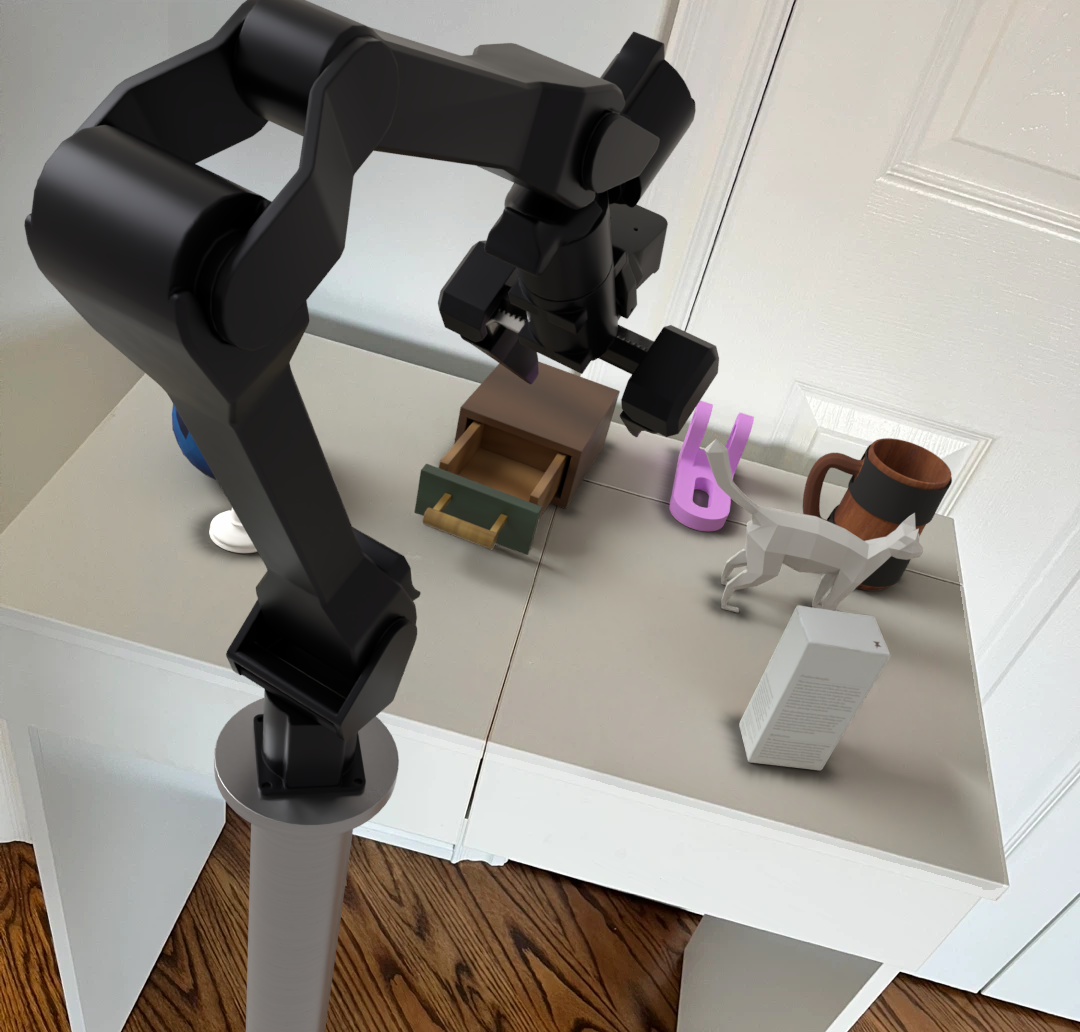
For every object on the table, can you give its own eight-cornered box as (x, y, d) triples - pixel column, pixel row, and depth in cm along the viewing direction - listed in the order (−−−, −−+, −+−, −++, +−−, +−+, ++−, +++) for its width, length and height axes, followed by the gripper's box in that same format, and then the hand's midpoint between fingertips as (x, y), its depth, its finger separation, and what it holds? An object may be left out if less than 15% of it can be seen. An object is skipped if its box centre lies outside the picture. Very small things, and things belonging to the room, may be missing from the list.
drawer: (510, 582, 82) (521, 539, 79) (393, 538, 83) (399, 493, 80) (569, 487, 94) (580, 446, 91) (466, 448, 95) (474, 407, 92)
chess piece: (211, 553, 78) (209, 439, 71) (207, 515, 81) (205, 402, 74) (276, 553, 80) (281, 442, 73) (270, 516, 83) (274, 406, 76)
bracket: (678, 455, 105) (700, 393, 100) (730, 470, 105) (754, 410, 100) (666, 520, 96) (689, 456, 91) (723, 537, 96) (749, 474, 91)
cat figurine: (875, 650, 88) (955, 516, 79) (655, 593, 87) (709, 450, 77) (869, 618, 92) (946, 486, 82) (657, 563, 90) (709, 422, 81)
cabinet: (565, 509, 93) (582, 451, 89) (449, 465, 94) (460, 406, 90) (604, 445, 103) (620, 390, 99) (498, 406, 104) (510, 350, 100)
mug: (782, 517, 101) (830, 411, 93) (897, 556, 100) (956, 453, 92) (774, 563, 94) (825, 454, 86) (897, 605, 94) (960, 500, 86)
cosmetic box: (808, 731, 79) (877, 615, 70) (821, 773, 76) (894, 656, 68) (735, 722, 78) (796, 602, 69) (745, 763, 75) (809, 643, 66)
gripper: (773, 216, 59) (751, 371, 74) (507, 103, 63) (537, 271, 78) (674, 366, 57) (673, 493, 72) (408, 239, 62) (459, 384, 77)
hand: (585, 404), depth 75 cm, fingers open, 9 cm apart
